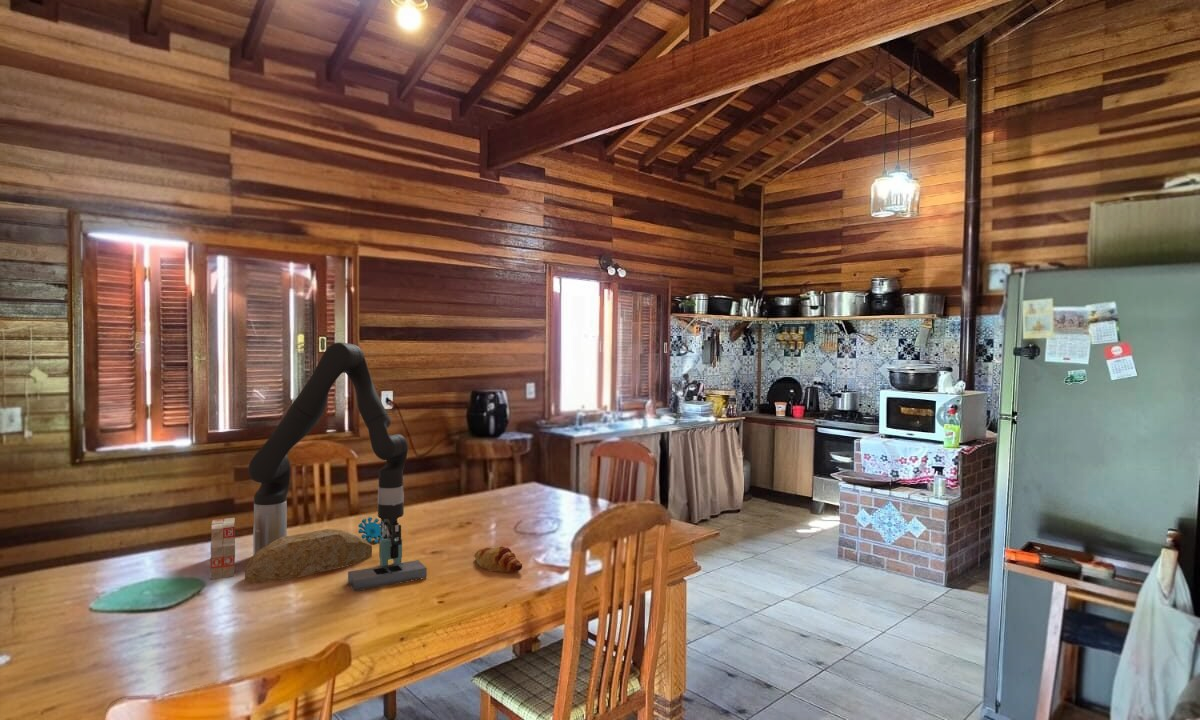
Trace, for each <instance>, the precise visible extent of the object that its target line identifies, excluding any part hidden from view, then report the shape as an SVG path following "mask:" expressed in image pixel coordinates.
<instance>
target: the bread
mask: <svg viewBox="0 0 1200 720" xmlns="http://www.w3.org/2000/svg"><path fill="white" fill-rule="evenodd" d="M371 556H372V557H373V546H372V544H371V543H369V542H367V539H366V538H364V539H363V538H362V537H361V536H358V535H355V534H354V533H351V532H348V531H345V530H342V529H336V528H335V529H334V528H333V529H332V528H325V529H321V530H314V531H309V532H308V531H307V532H303V533H299V534H294V535H287V536H286V537H281V538H279V539H277V540H275V541H273V542H272V543H270V544H268V545H267V546H265V547H263V548H262V549H260V550H259V551H257V552H256V553H255V554H254V555H252V556H251V557H250V558H249V561H248V562H247V565H245V568H244V580H245V582H246V583H247V582H248V583H247V584H262V583H264V582H265V583H273V582H272V581H274V582H282V581H281V580H283V581H287V580H291V579H290V578H292V579H295V577H296V578H299V577H298V576H300V577H305V576H308V575H313V574H317V573H322V571H323V572H326V570H327V571H330V569H332V570H335V569H334V568H336V569H339V568H338V567H340V568H343V567H342V566H345V567H348V566H347V565H349V566H351V565H350V564H352V565H354V563H355V564H357V562H358V563H360V561H361V562H364V561H365V559H366V560H367V558H368V559H369V557H370V558H372V557H371ZM304 575H305V576H304ZM286 579H287V580H286ZM265 583H264V584H265Z"/></svg>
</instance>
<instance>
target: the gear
mask: <svg viewBox="0 0 1200 720" xmlns="http://www.w3.org/2000/svg"><path fill="white" fill-rule="evenodd" d="M372 520H373V517H371V516H370V517H369V516H368V518H367V519H366V518H364V519H361V522H360V523H359V524H358V528H359V529H358V534H361V536H360V537H361V538H363V539H365V540H366V541H367V542H368V543H369V544H371V542H372V540H373V539H374V541H373V543H374V544H375V543H377V544H378V543H379V540H381V539H384V538H382V535H381V522H380V523H378V522H379V520H380V519H378V517H377V518H375V519H374V520H373V521H372ZM367 522H368V523H367Z"/></svg>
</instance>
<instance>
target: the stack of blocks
mask: <svg viewBox="0 0 1200 720" xmlns="http://www.w3.org/2000/svg"><path fill="white" fill-rule="evenodd" d="M235 521H236V518H235V517H229V518H228V517H227V518H221V519H220V518H219V519H213V520H211V536H210V538H211V542H210V561H209V563H210V565H209V566H210V567H209V569H210V580H215V579H221V578H222V577H224V578H229V577H230V576H231V577H235V573H234V572H235V570H236V566H235V565H236V564H235V563H236V525H235V524H236V522H235ZM222 579H223V578H222Z"/></svg>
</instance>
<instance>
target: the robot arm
mask: <svg viewBox="0 0 1200 720" xmlns="http://www.w3.org/2000/svg"><path fill="white" fill-rule="evenodd" d="M364 354H365V353H364V352H363V350H362V349H361V348H360V347H359V346H358V345H356V344H354V343H347V342H340V341H339V342H334V343H332V344H330V345H329V346H328V347H327V348H326V349H325V351H324V353H323V354H322V356H321V357H320V359H319V361H318V363H317V365H316V367H315V369H314V371H313V373H312V374H311V376H310V378H309V379H308V380H307V382H306V383H305V385H304V386H303V388H302V389H301V391H300V392H299V394H298V395H297V397H296V398H295V400H294V401H293V402H292V404H291V405H290V407H289V408H288V409H287V410H286V413H285V414H284V416H283V417H282V419H281V420H280V422H279V423H278V425H277V426H276V427H275V429H274V431H273V432H272V433H271V435H270V436H269V438H267V440H266V442H265V443H264V444H263V445H262V446H261V448H260V449H259V450H258V451H257V452H256V453H255V454H254V456H253V457H252V458H251V460H250V462H249V464H248V468H247V469H248V475H249V477H250V479H251V480H252V481H254V482H256V483H260V484H261V485H260V486H259V488H258V490H257V491H256V492H255V493H254V495H253V527H252V528H253V530H252V531H253V532H252V534H253V535H252V536H253V537H252V538H253V543H252V546H253V550H252V551H253V553H252V554H253V555H254V554H255V553H256V552H257V551H259V550H260V549H262V548H263V547H265V546H267V545H268V544H270V543H272V542H273V541H275V540H277V539H279V538H281V537H286V536H288V535H287V534H288V533H287V531H288V529H287V528H288V522H287V518H288V517H287V514H288V513H287V510H288V508H287V505H288V503H287V498H288V493H289V491H290V483H291V482H290V480H291V479H290V478H291V462H290V458H289V456H288V455H287V454H288V453H289V452H290V451H291V449H293V448H294V447H295V445H297V443H299V442H300V441H302V440H303V439H304V438H305V437H306V436H307V435H308V434H309V433H310V432H311V431H312V429H314V428H315V426H316V425H317V424H318V422H319V421H320V419H321V418H322V416H323V414H324V413H325V411H326V408H327V403H328V398H329V392H330V390H331V388H332V386H333V385H334V383H335V382H336V381H337V379H338V378H339V377H340V376H341V375H342V374H343V373H344V374H346V375H347V376H348V378H349V379H350V381H351V383H352V385H353V387H354V389H355V395H356V404H357V409H358V411H359V413H360V414H359V415H360V416H361V419H362V420H363V422H364V424H365V426H366V428H367V429H368V436H369V439H370V446H371V449H372V451H373V453H374V455H375V456H376V457H377V458H378V459H380V460H382V461H385V464H384V465H383V466H382V467H381V468H380V469H379V471H378V490H377V518H379V519H380V523H381V526H380V527H381V535H382V538H384V539H389V540H390V557H391V558H392V559H391V560H393V559H394V558H398V545H401V539H402V525H401V524H400V523H399V522H398V519H399V518H402V517H404V515H405V514H404V511H405V510H404V508H405V507H404V505H405V504H404V503H405V501H404V499H405V492H404V474H403V473H404V468H405V466H406V460H407V457H408V452H409V451H408V449H409V446H408V441H407V439H406V438H405V437H404V436H403V435H402V434H398V433H395V434H390V435H389V433H388V428H389V427H390V426H391V423H392V421H391V419H390V416H389V414H388V412H387V410H386V408H385V405H383V403H382V401H381V398H380V397H379V394H378V392H377V389H376V387H375V384H374V381H373V379H372V376H371V373H370V369H369V367H368V363H367V360H366V357H365V355H364ZM395 539H396V541H395ZM253 555H252V556H253Z"/></svg>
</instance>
